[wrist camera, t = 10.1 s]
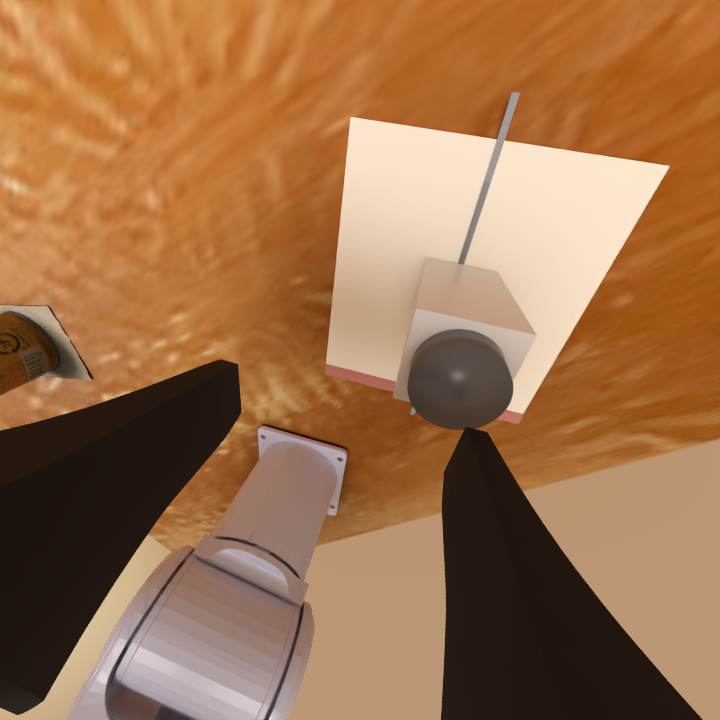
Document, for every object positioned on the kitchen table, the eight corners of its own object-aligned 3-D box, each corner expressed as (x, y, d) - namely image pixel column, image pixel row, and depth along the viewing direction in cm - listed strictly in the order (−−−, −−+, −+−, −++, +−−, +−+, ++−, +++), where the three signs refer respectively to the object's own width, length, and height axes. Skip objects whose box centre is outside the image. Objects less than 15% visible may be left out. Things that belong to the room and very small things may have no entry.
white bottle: (472, 334, 17) (495, 448, 10) (409, 320, 17) (387, 419, 10) (497, 271, 15) (549, 355, 8) (426, 257, 15) (413, 323, 8)
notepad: (505, 431, 21) (508, 440, 20) (326, 384, 22) (322, 391, 21) (683, 121, 12) (700, 117, 11) (359, 76, 13) (354, 70, 12)
